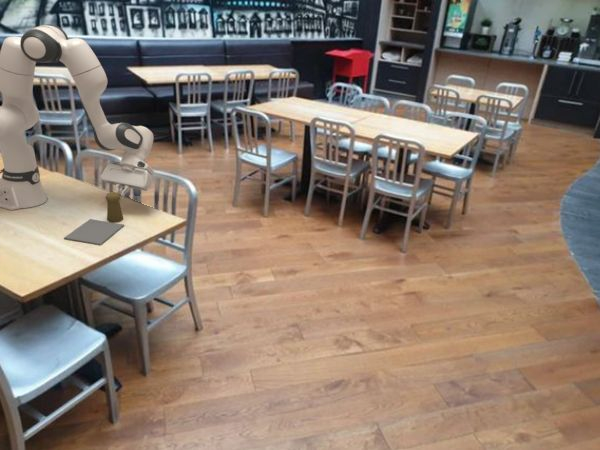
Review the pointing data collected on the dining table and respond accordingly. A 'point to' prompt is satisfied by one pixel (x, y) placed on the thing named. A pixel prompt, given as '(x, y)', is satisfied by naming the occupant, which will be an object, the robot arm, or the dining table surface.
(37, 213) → the dining table surface
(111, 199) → the cork
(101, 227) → the rubber mat
